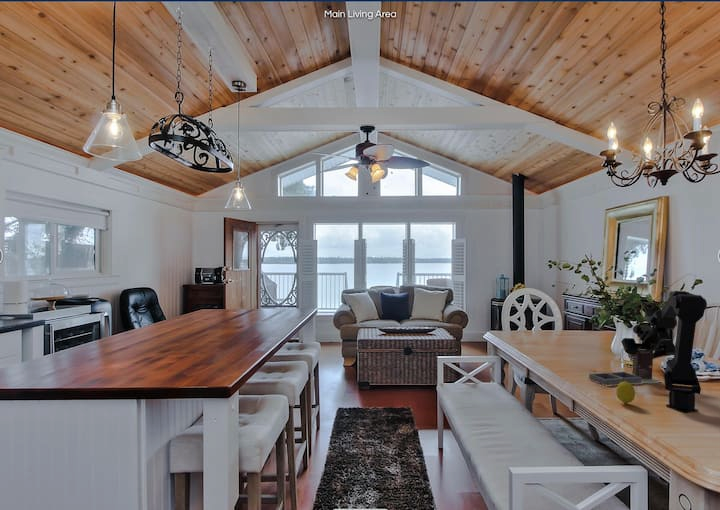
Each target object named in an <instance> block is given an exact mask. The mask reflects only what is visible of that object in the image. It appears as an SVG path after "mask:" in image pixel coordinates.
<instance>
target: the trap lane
mask: <svg viewBox="0 0 720 510" xmlns="http://www.w3.org/2000/svg"><path fill="white" fill-rule="evenodd" d="M588 375H589V378H588V380H589V381H593V382H594V381H595V383H597V382H598V383H597V384H600V383H601V384H600V385H602V384H604V385H603V386H605V385H607V386H606V387H610V386H609V385H618V384H619V383H621V382H624V381H627V382H628V383H630V384H635V385H643V383H649V384H660V383H659V382H663V381H662V380H660V379H658V378H654V377H652V379H648V378H642V377H639V376H636V375H633V374H632V373H628V372H626V371H616V372H600V373H599V372H598V373H589V374H588Z"/></svg>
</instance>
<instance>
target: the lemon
mask: <svg viewBox="0 0 720 510" xmlns="http://www.w3.org/2000/svg"><path fill="white" fill-rule="evenodd" d="M635 391H636V390H635V388H634V385H631V384H630V383H628V382H627V381H624V382H621V383H619V384H618V386H616V390H615V392H616V397H617V398H618V400H620V401H621V402H622V403H623V404H625V405H627V404H629V403H631V402H633V401H634V400H635V397H636V392H635Z"/></svg>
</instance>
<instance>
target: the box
mask: <svg viewBox="0 0 720 510" xmlns="http://www.w3.org/2000/svg"><path fill="white" fill-rule="evenodd" d="M653 353H654V351H646V350H641V349H638V352H637V353H636V355H634V356H633V357H632V373H631V374H633V375H636V376H639V377H642V378H648V379H652V378H653V366H654V365H653V364H654V363H653V362H654V359H653Z"/></svg>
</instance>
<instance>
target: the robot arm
mask: <svg viewBox="0 0 720 510" xmlns="http://www.w3.org/2000/svg"><path fill="white" fill-rule="evenodd" d="M668 294H669V297H668V298H667V300H666V302H665V303H664V305H663V306H662V308H660V307H659V305H652V307H649V308H647V309H645V311H644V314H645V318H646V322H647V324H634V326H633V328H632V332H633V333H634V334H636V335H639V340H640V341H641V342H640V343H639V342H637V343H636V340H635V338H633V337H632V338H629V337H623V338H622V339H621V341H620V342H621V344H622V348H623V350H624V352H625V353H626V354H627V357H628V358H629V359H630V358H633V356H634V355H636V353H637V352H638V349H641V350H646V351H653V360H655V359H659V358H663V357H668V356H669V357H670V356H673V358H672V359H667V361H666V368H665V370H664V372H663V381H664V386H665V387H664V389H665V390H668V393H669V394H668V404H665V406H666V407H667V408H670V409H672V410H675V411H678V412H681V413H685V414H686V413H696V412H699V411H700V410H699V409H698V408H696V394H698V395H700V394H701V391H702V388H701V385H700V382H699V379H698V376H697V370H696V369H695V367H694V366H693V365H692V357H693V351H694V350H693V347H694V342H695V333H696V325H697V323H698V322H699V321H700V320H701V319H703V317H704V316H705V312H706V311H705V310H706V309H707V307H708V303H707V299H706V298H704V297H703V296H702V295H701V294H695V293H694V294H693V293H691V292H689V291H686V290H685V291H684V290H672V291H670V292H669V293H668ZM675 327H677V328H676V334H675V335H676V336H675V343H674V341H673V340H672V339H670V338H671V337H670V330H674V329H675Z"/></svg>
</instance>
